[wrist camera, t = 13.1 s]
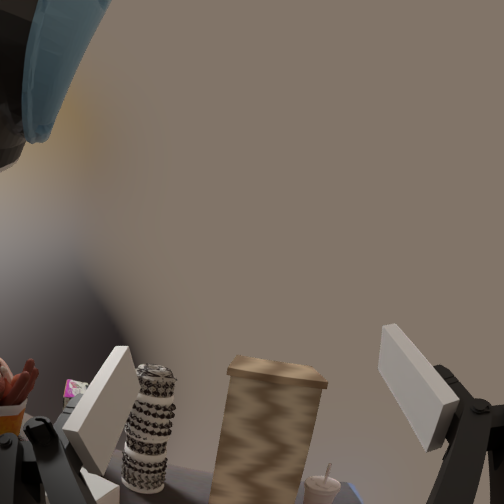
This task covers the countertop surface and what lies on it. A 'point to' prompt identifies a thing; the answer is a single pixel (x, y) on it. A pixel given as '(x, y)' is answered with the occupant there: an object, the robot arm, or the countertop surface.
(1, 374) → the bucket of meat
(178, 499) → the countertop surface
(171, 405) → the decorative candle
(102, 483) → the supplement box
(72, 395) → the candy bar box
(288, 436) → the stand
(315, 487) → the smoothie
